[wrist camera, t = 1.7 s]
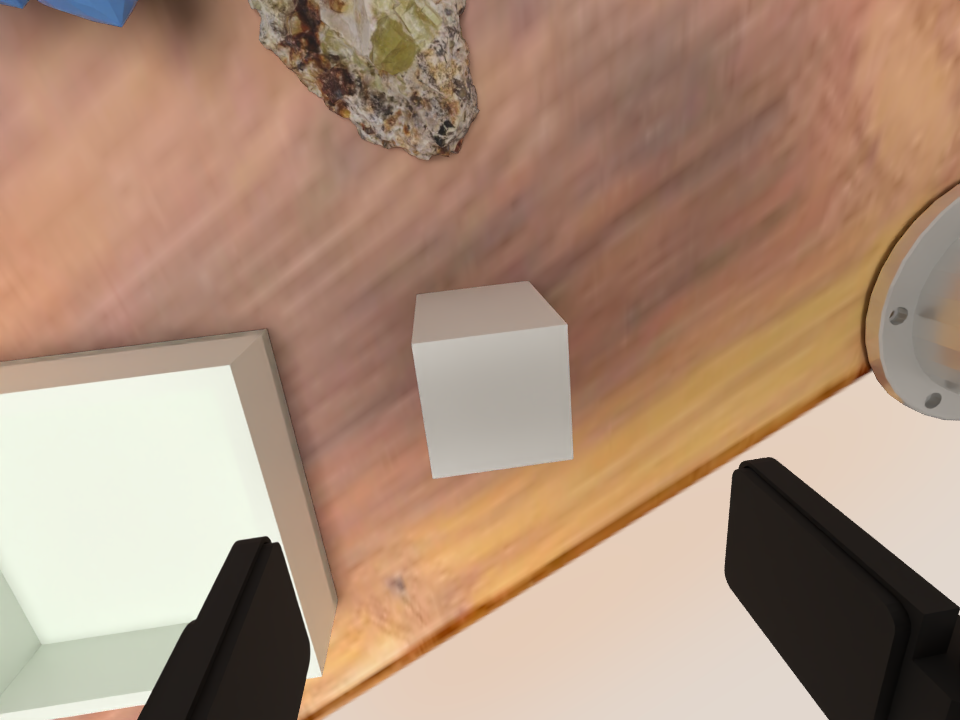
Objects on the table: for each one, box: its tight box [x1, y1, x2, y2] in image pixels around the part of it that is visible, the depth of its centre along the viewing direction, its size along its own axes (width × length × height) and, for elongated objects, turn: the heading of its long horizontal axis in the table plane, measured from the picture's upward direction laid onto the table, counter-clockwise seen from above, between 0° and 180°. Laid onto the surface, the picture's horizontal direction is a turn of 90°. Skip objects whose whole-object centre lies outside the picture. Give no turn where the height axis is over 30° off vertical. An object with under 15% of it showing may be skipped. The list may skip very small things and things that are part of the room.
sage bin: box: [0, 329, 338, 720], centre depth 23 cm, size 16×16×4 cm
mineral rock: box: [248, 0, 479, 160], centre depth 18 cm, size 11×4×8 cm
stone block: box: [411, 281, 573, 479], centre depth 20 cm, size 5×5×7 cm
